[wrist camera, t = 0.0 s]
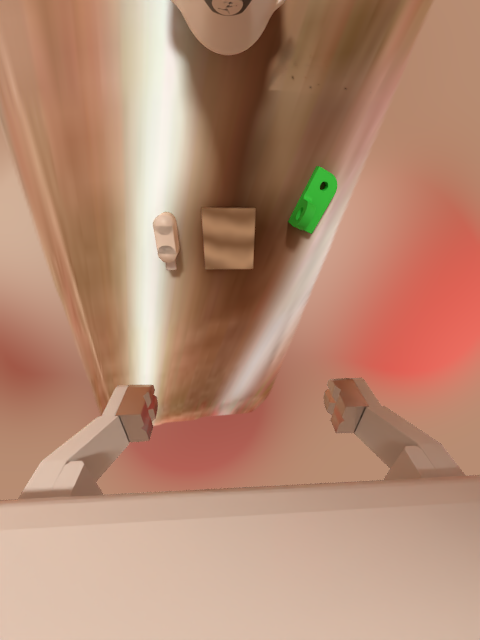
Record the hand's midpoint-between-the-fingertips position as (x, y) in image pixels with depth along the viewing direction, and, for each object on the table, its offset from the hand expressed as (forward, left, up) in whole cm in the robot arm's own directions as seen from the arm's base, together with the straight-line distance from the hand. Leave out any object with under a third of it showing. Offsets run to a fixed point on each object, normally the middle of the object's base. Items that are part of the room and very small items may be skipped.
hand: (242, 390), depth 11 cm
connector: (+5, -14, -52) cm, 54 cm away
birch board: (+6, 0, -52) cm, 52 cm away
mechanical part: (-2, +19, -52) cm, 56 cm away
